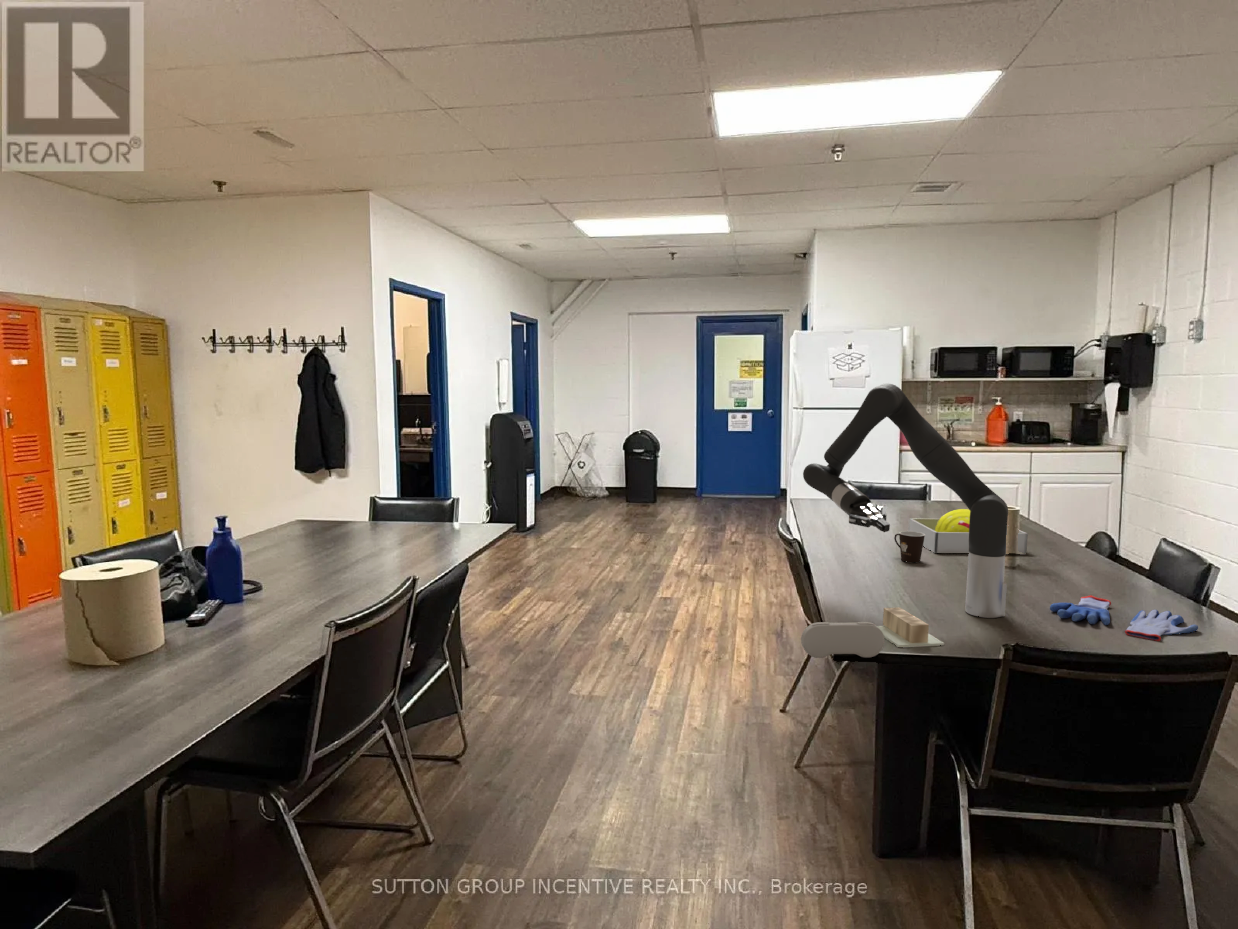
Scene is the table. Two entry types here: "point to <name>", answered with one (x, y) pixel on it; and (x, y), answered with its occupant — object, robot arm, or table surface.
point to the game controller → (842, 639)
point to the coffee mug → (910, 545)
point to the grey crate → (950, 537)
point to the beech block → (905, 625)
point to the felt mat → (904, 643)
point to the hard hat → (954, 521)
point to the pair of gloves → (1140, 624)
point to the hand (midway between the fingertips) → (887, 528)
